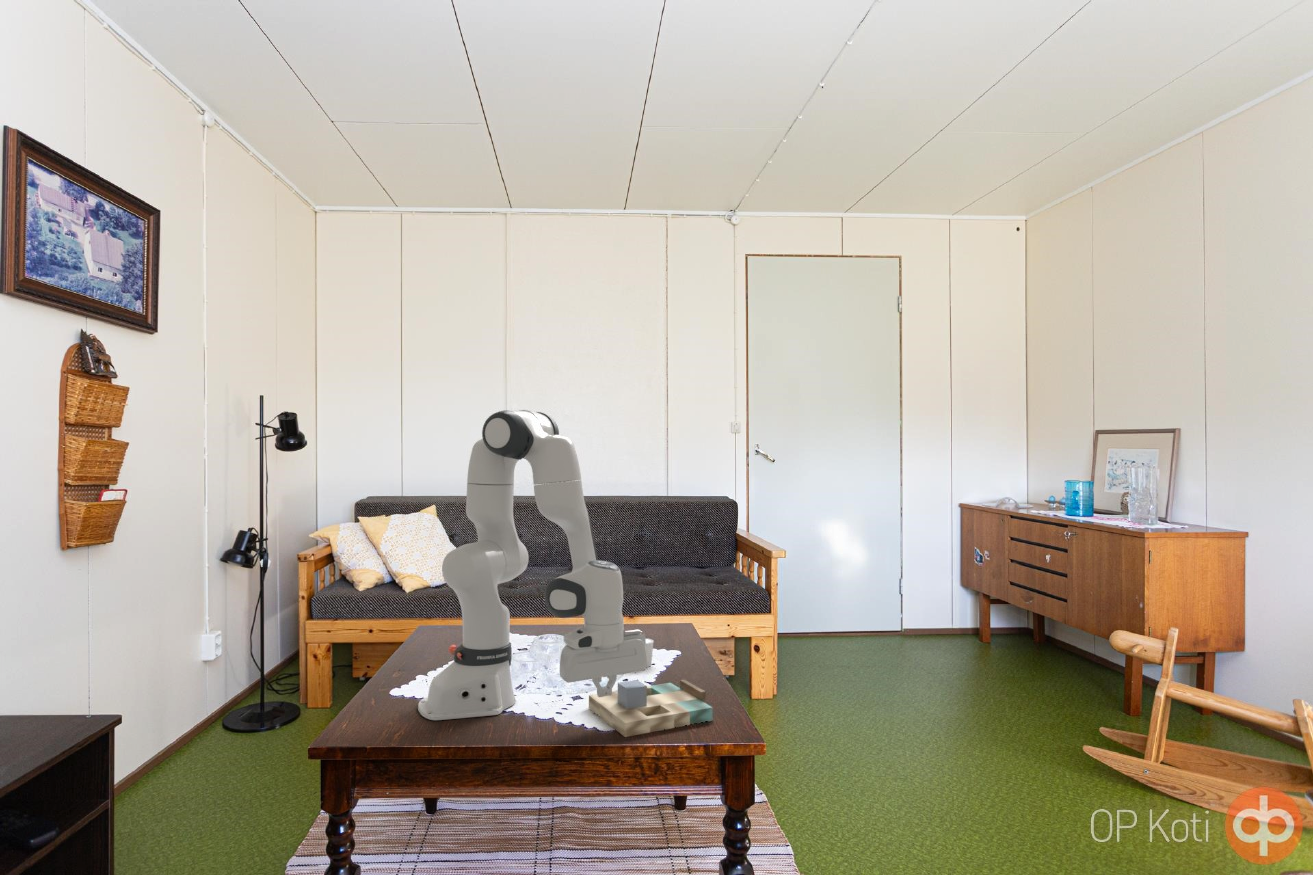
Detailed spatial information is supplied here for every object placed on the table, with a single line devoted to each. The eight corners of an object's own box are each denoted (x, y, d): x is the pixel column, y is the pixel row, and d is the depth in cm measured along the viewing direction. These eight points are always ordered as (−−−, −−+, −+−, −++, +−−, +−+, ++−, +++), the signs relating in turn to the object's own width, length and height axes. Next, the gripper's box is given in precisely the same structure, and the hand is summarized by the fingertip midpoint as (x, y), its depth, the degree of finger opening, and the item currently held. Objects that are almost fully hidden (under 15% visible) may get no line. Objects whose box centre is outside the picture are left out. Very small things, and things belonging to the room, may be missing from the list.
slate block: (626, 709, 170) (627, 688, 170) (617, 702, 174) (617, 682, 174) (646, 705, 172) (646, 685, 172) (636, 699, 177) (637, 679, 177)
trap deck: (624, 736, 161) (625, 713, 161) (588, 707, 179) (588, 686, 179) (716, 719, 172) (717, 697, 172) (674, 693, 190) (674, 673, 190)
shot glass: (650, 669, 211) (650, 644, 211) (626, 667, 212) (627, 642, 212) (655, 662, 217) (655, 638, 217) (632, 661, 219) (632, 636, 219)
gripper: (639, 625, 177) (639, 684, 177) (556, 636, 168) (557, 698, 168) (651, 631, 172) (652, 692, 172) (567, 642, 162) (567, 707, 162)
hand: (604, 695), depth 170 cm, fingers closed
